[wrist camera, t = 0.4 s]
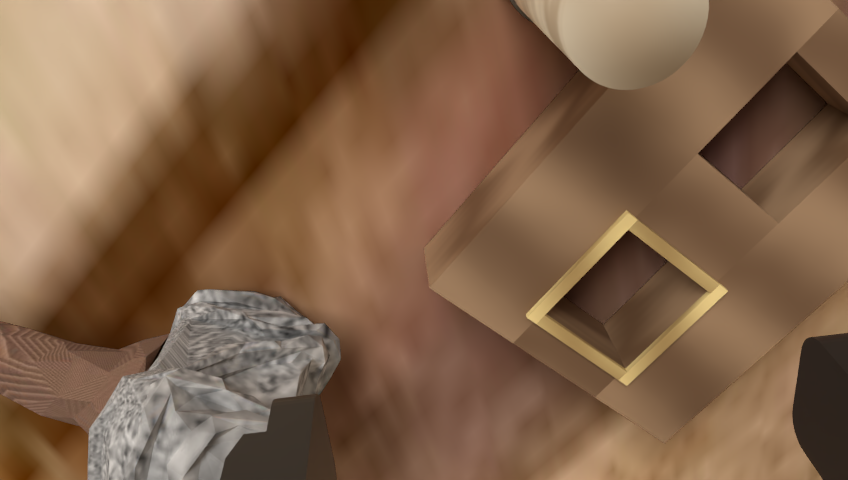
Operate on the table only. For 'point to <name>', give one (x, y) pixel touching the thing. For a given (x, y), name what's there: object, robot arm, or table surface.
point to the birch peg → (621, 36)
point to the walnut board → (664, 219)
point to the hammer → (173, 383)
